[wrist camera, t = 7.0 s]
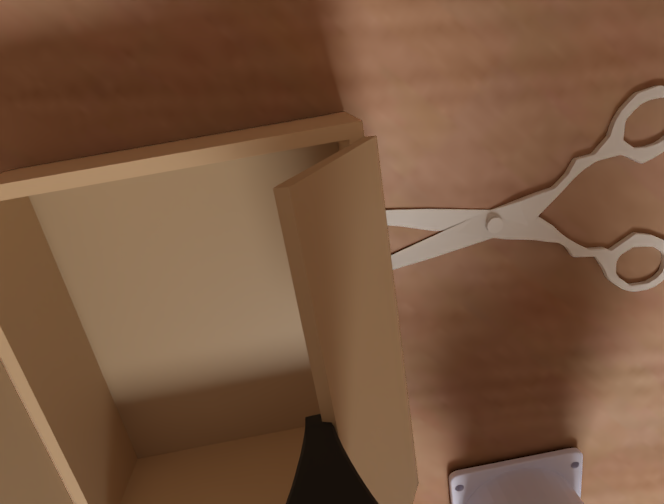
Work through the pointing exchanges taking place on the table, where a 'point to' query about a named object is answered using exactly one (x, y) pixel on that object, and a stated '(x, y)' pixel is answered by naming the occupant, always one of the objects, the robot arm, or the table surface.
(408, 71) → the table surface
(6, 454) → the flap
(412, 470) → the flap
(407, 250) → the scissors
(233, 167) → the carton
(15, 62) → the table surface
